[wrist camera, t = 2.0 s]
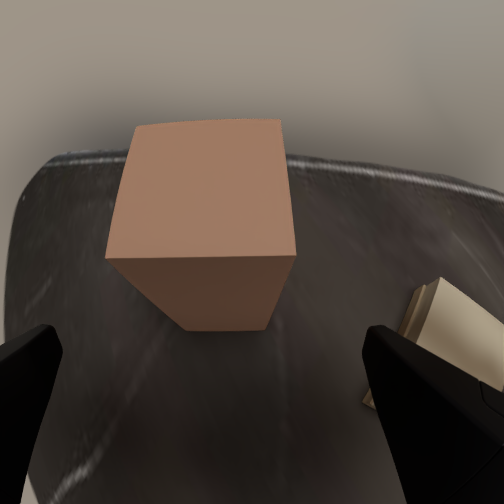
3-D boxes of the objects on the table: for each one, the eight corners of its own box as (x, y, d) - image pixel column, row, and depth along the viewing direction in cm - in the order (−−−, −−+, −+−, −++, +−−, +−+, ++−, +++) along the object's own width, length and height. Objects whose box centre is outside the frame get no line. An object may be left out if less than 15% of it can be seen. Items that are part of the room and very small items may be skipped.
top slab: (459, 448, 13) (476, 451, 12) (371, 405, 15) (384, 407, 13) (500, 340, 16) (516, 335, 15) (425, 286, 18) (440, 277, 17)
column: (265, 330, 18) (296, 255, 7) (185, 331, 18) (104, 258, 7) (261, 256, 20) (280, 119, 9) (188, 258, 20) (136, 126, 9)
